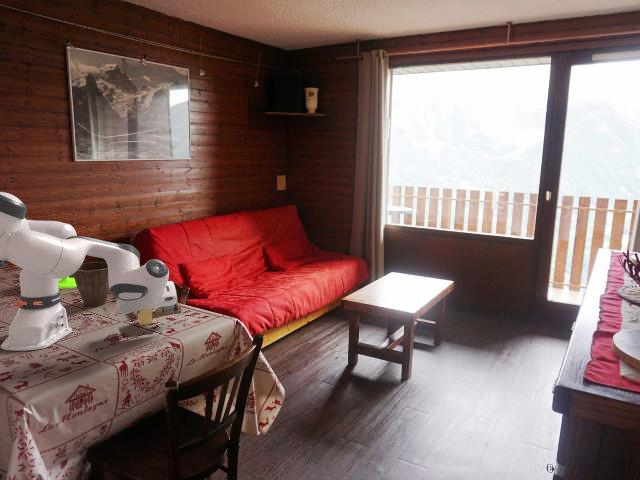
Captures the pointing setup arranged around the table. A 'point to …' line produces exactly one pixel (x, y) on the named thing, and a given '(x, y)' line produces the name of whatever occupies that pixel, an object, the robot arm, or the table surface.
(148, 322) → the plug ochre
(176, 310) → the slot rack
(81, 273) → the plant pot
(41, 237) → the robot arm
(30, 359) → the table surface
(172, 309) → the plug grey
